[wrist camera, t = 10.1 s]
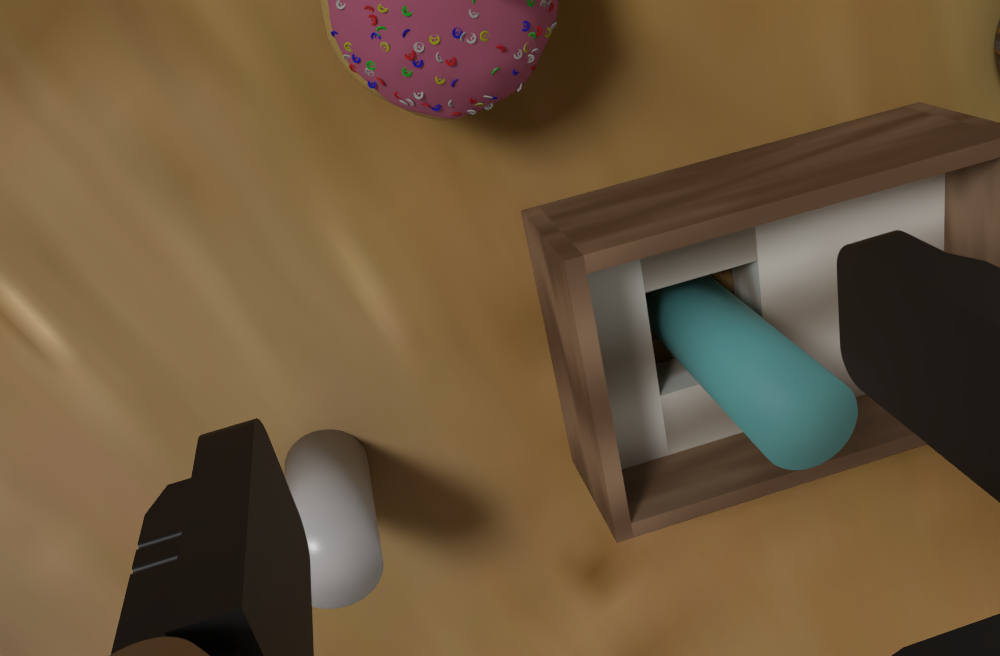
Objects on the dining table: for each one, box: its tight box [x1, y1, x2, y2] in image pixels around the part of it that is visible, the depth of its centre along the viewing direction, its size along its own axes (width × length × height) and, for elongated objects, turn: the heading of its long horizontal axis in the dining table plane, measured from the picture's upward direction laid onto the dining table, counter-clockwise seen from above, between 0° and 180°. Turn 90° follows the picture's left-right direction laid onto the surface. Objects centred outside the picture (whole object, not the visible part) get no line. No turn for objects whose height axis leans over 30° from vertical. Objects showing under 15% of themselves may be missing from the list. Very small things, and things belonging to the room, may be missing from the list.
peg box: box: [521, 102, 1000, 543], centre depth 41 cm, size 14×20×7 cm
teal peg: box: [646, 275, 858, 470], centre depth 39 cm, size 4×4×12 cm
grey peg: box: [285, 430, 383, 609], centre depth 40 cm, size 4×4×8 cm
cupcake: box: [320, 0, 558, 120], centre depth 30 cm, size 9×8×12 cm
